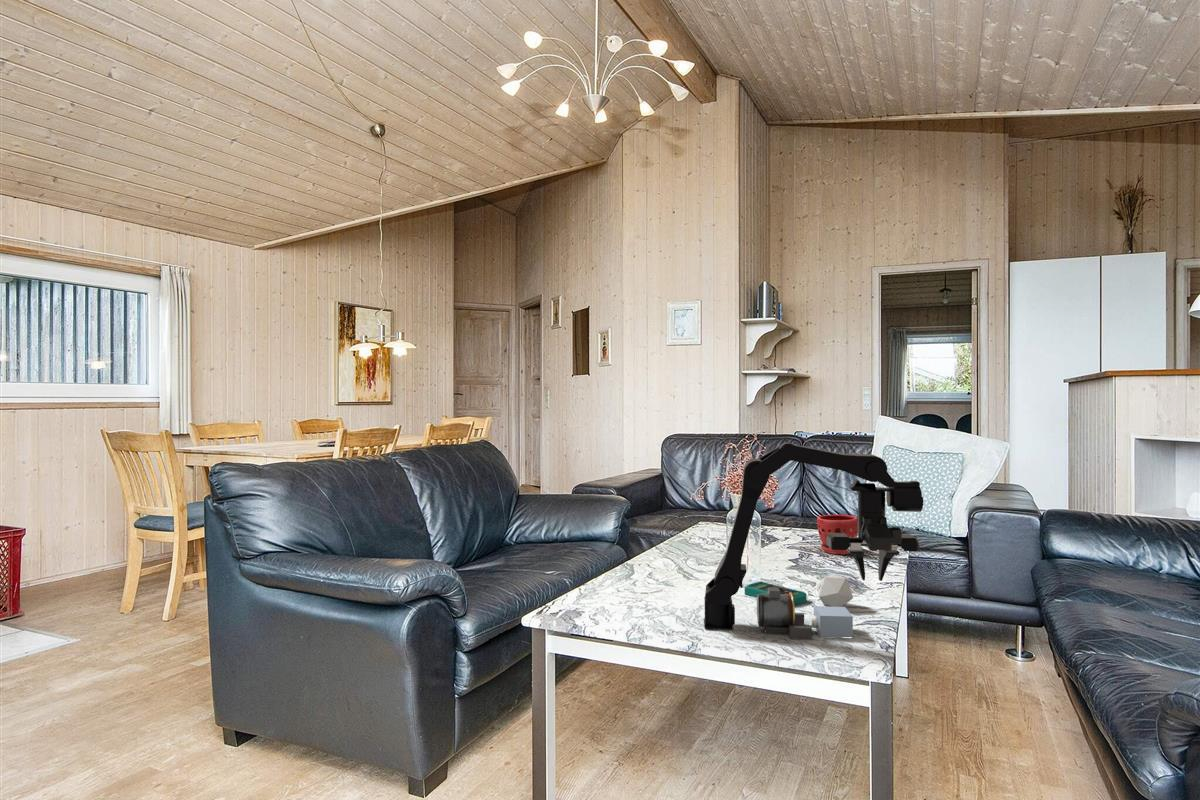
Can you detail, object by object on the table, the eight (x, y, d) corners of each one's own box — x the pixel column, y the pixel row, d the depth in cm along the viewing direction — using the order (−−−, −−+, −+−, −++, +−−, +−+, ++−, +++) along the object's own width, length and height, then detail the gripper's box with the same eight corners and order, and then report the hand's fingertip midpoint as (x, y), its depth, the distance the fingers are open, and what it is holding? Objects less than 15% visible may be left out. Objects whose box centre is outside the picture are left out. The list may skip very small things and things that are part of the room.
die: (826, 601, 183) (807, 574, 181) (856, 588, 180) (838, 560, 178) (830, 622, 176) (811, 594, 174) (862, 608, 173) (843, 580, 171)
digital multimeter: (792, 609, 176) (792, 597, 176) (743, 595, 188) (743, 584, 188) (809, 603, 181) (809, 591, 181) (760, 590, 193) (760, 579, 193)
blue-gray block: (815, 638, 155) (815, 615, 155) (809, 627, 162) (809, 606, 162) (852, 639, 154) (852, 616, 154) (845, 628, 161) (845, 606, 161)
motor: (760, 636, 156) (760, 594, 156) (756, 623, 164) (756, 583, 164) (795, 637, 155) (794, 595, 155) (789, 624, 163) (789, 584, 163)
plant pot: (848, 547, 245) (848, 513, 245) (864, 555, 232) (864, 519, 232) (811, 548, 244) (811, 513, 244) (826, 556, 231) (826, 520, 231)
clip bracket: (790, 639, 154) (790, 627, 154) (783, 622, 164) (783, 612, 164) (811, 639, 153) (811, 628, 153) (803, 623, 164) (803, 612, 164)
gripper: (836, 516, 150) (836, 589, 150) (927, 517, 147) (928, 591, 148) (825, 508, 161) (826, 575, 161) (910, 509, 159) (910, 577, 159)
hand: (871, 580), depth 157 cm, fingers open, 3 cm apart
